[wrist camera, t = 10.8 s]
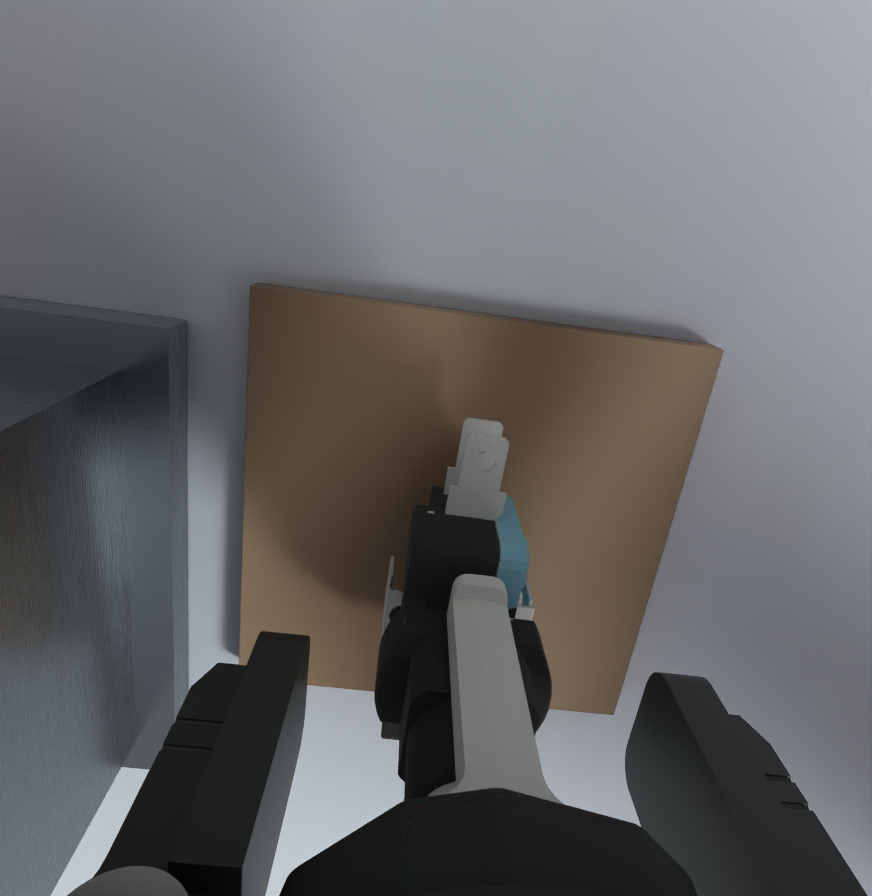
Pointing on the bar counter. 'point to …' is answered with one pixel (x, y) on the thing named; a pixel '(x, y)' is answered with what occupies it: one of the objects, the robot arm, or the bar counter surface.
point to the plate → (436, 448)
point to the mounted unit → (86, 567)
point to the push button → (475, 724)
